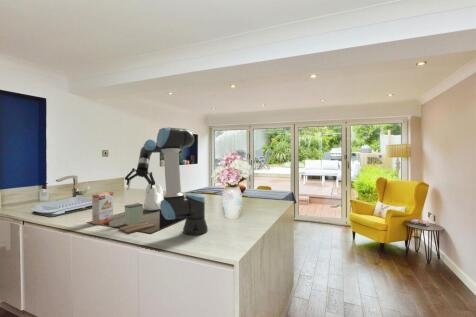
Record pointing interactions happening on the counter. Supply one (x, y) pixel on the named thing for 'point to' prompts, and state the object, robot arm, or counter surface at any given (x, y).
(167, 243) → the counter surface
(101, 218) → the cracker box
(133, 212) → the sage block
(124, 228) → the walnut board
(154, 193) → the decorative rooster
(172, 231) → the counter surface
